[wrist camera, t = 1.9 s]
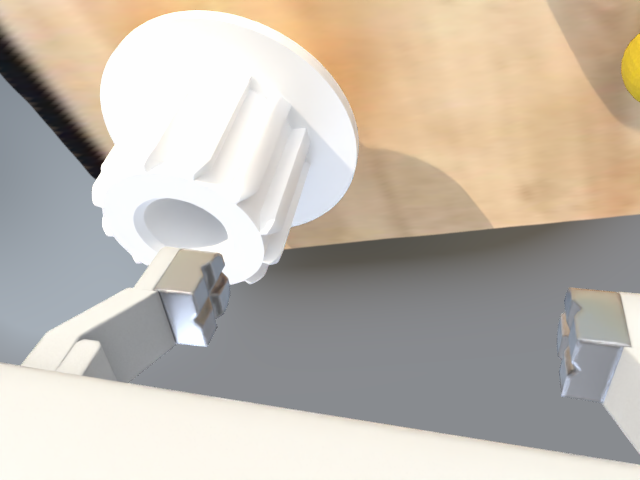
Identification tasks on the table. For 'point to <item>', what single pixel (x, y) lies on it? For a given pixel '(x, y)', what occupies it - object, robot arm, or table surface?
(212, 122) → the ribbed cylinder on disc
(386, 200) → the table surface
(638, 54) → the lemon
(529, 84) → the table surface
